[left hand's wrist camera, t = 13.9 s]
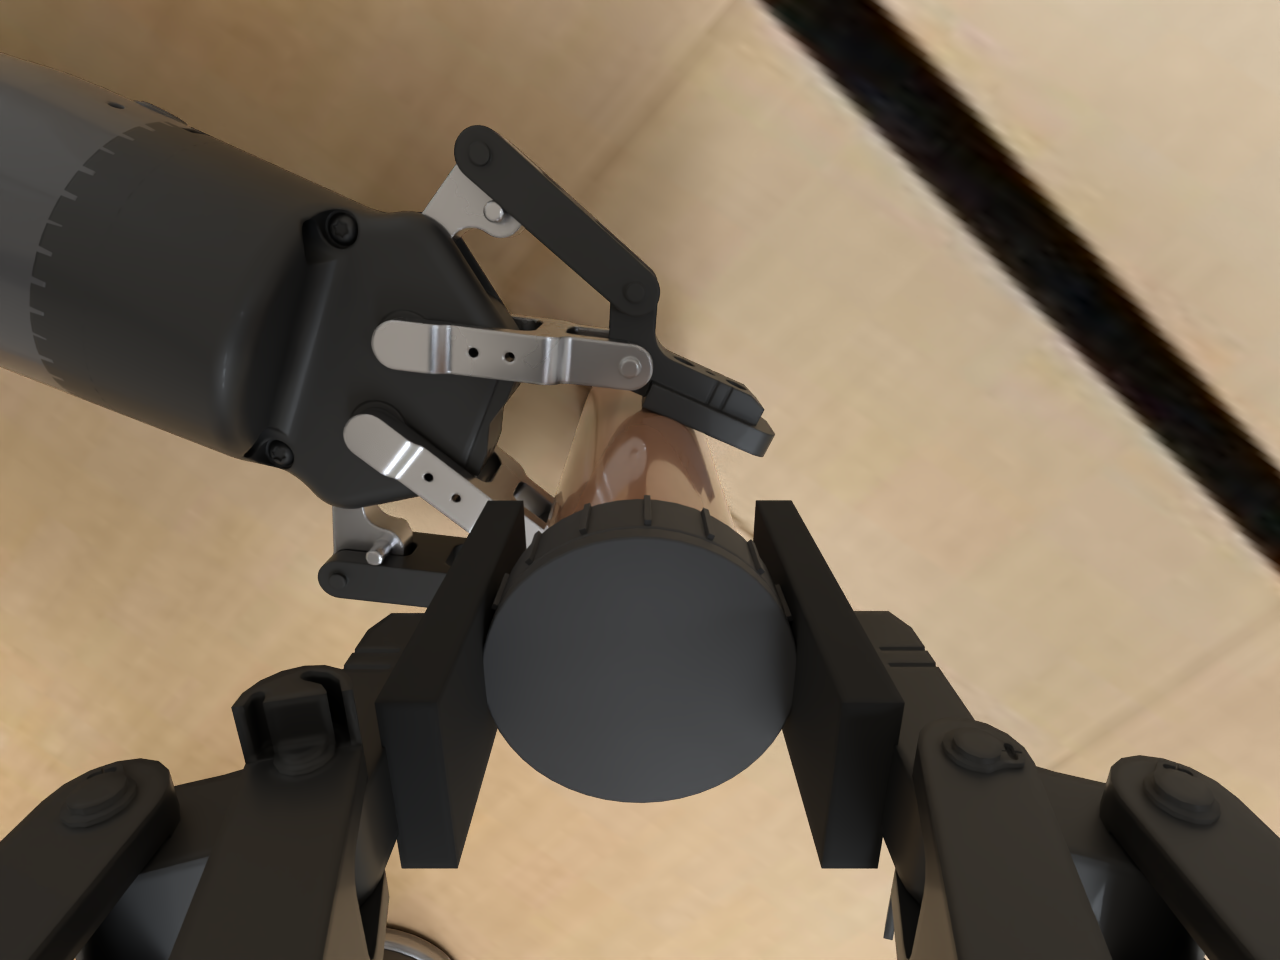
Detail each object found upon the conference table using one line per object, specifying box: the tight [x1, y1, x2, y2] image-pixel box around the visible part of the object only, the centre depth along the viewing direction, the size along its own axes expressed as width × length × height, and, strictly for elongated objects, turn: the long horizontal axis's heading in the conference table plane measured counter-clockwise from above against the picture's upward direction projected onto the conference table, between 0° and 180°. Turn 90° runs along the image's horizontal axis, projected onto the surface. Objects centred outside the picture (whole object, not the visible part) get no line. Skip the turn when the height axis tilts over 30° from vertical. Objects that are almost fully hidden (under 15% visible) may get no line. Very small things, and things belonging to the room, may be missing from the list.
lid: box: [483, 495, 797, 803], centre depth 11 cm, size 5×5×2 cm
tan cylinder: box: [544, 386, 736, 532], centre depth 18 cm, size 4×4×15 cm
